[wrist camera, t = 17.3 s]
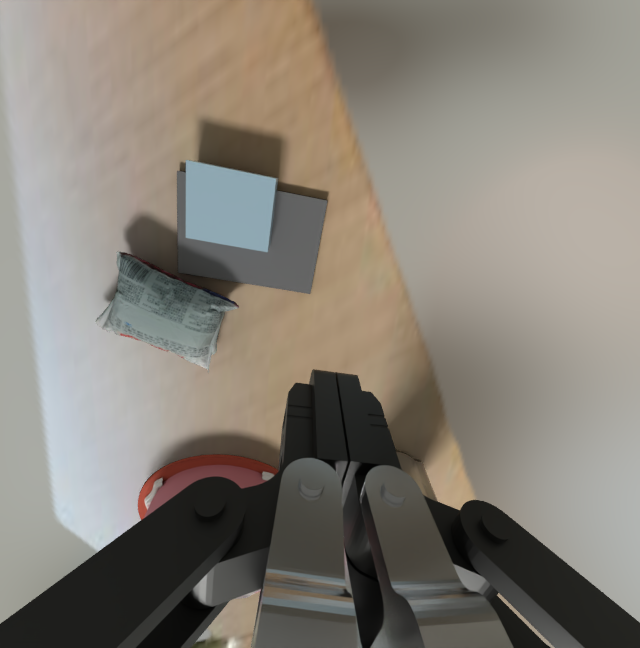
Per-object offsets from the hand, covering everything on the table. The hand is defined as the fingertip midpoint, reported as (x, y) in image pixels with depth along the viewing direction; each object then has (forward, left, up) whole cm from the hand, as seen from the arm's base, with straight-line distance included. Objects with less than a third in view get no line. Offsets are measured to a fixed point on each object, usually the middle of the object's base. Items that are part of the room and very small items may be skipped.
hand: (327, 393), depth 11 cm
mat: (+6, 0, -22) cm, 23 cm away
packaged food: (+13, +9, -22) cm, 27 cm away
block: (+7, 0, -20) cm, 22 cm away
